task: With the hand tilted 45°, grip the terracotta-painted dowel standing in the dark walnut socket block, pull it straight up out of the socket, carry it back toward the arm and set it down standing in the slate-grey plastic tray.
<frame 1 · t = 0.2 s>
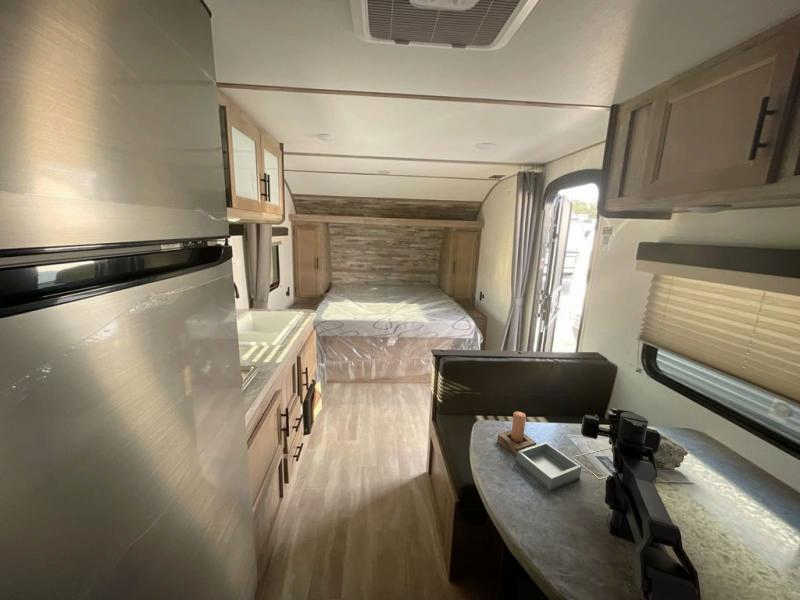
hand: (612, 419, 100), 17 cm above the table, tool horizontal, fingers open, 9 cm apart
tray: (546, 469, 100), on the table
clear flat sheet: (605, 464, 105), on the table
stone: (650, 461, 106), on the table
dowel: (517, 430, 111), in the socket block
socket block: (516, 445, 112), on the table
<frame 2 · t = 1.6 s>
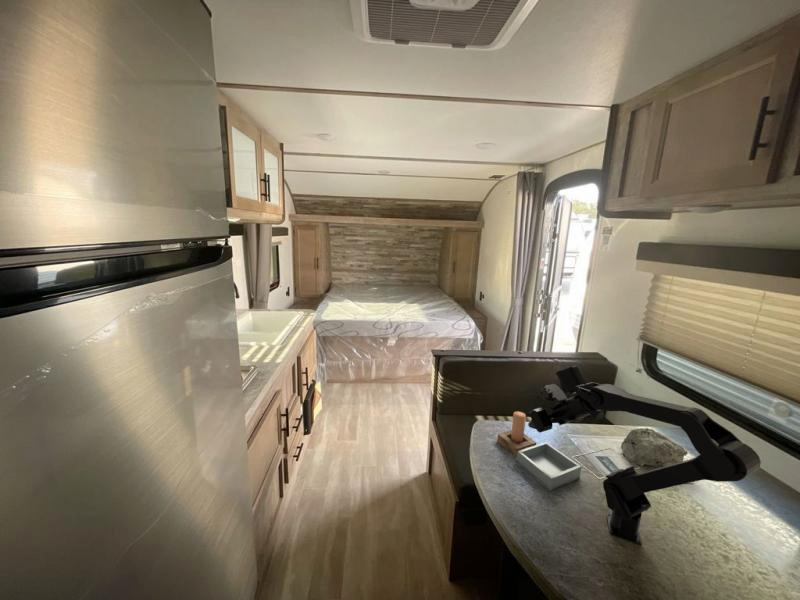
hand: (539, 422, 102), 14 cm above the table, tool tilted 45°, fingers open, 9 cm apart
nothing on the table moved.
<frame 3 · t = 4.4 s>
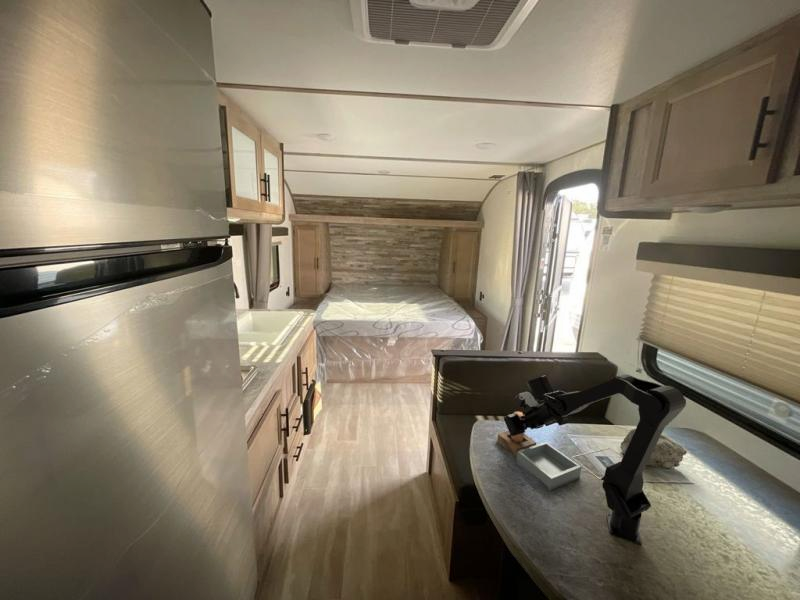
hand: (515, 426, 112), 7 cm above the table, tool tilted 45°, fingers closed on dowel, 4 cm apart
dowel: (517, 430, 111), in the socket block, touching gripper
everything else where it was.
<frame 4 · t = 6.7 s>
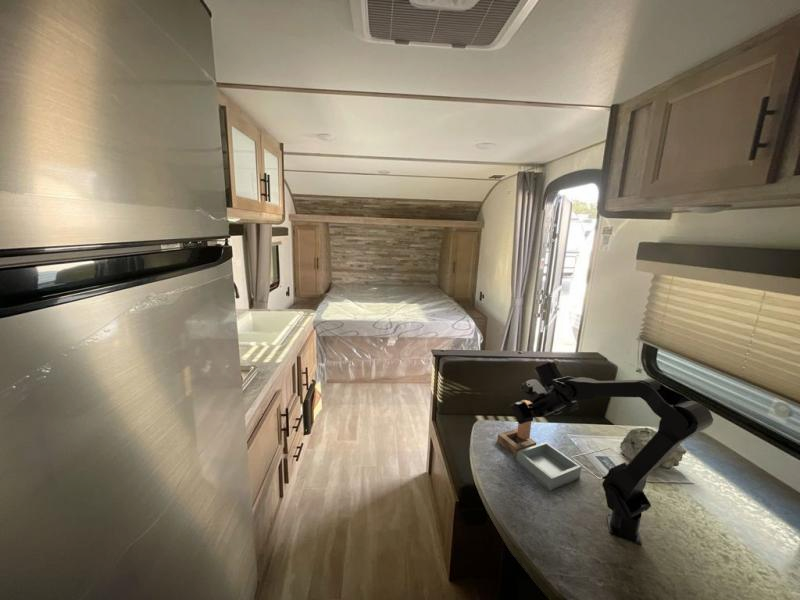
hand: (522, 415, 109), 12 cm above the table, tool tilted 45°, fingers closed on dowel, 4 cm apart
dowel: (525, 419, 108), point 12 cm above the table, touching gripper
everything else where it was.
when the fingers open (9 cm above the table, at t = 8.8 s): dowel drops 1 cm, resting on tray.
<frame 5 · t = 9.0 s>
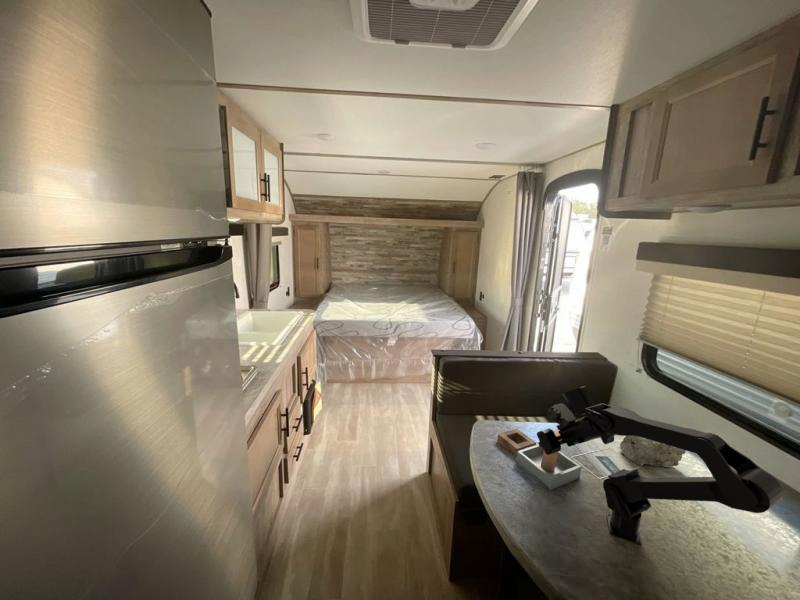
hand: (546, 442, 100), 9 cm above the table, tool tilted 45°, fingers open, 6 cm apart
dowel: (551, 451, 99), in the tray, point 7 cm above the table
everything else where it was.
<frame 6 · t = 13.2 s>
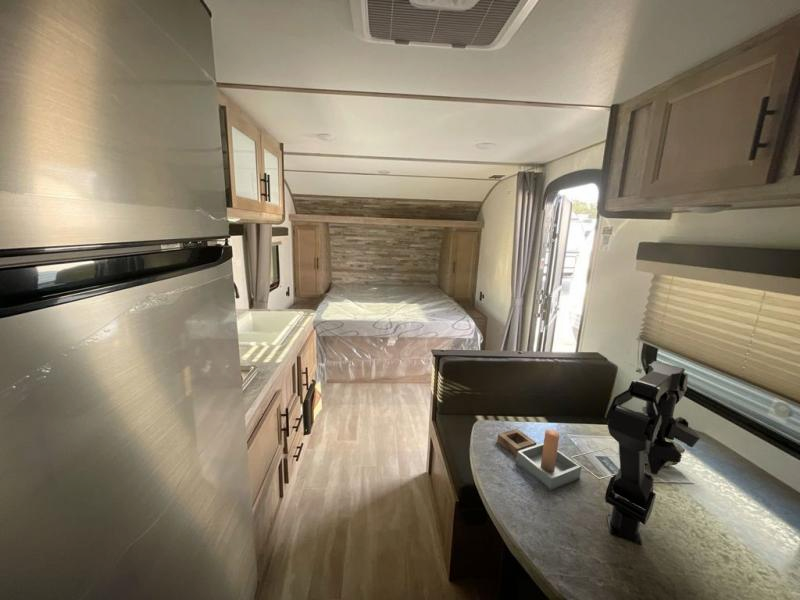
hand: (648, 462, 86), 13 cm above the table, tool pointing down, fingers open, 9 cm apart
nothing on the table moved.
at the end: dowel inside the target area on the tray (0.0 cm from its centre), point 6.8 cm above the tray's base; the gripper is holding nothing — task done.
